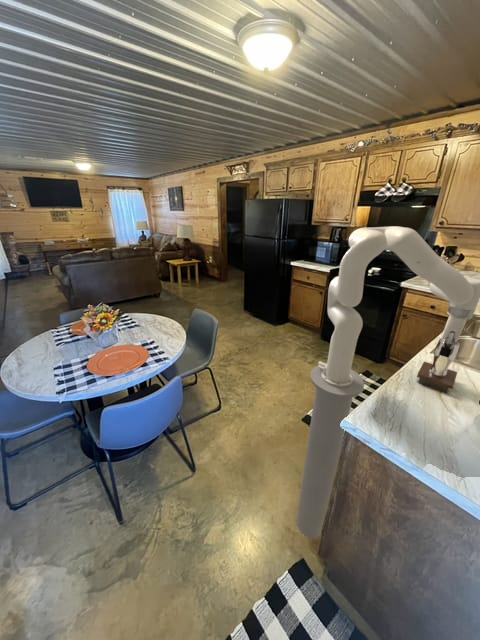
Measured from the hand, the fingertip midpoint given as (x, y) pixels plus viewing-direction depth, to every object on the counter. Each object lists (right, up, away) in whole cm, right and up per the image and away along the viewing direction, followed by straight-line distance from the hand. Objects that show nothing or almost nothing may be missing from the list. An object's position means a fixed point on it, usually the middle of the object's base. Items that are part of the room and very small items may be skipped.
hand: (445, 352), depth 105 cm
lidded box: (0, -13, +6) cm, 15 cm away
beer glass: (0, -9, +4) cm, 10 cm away
